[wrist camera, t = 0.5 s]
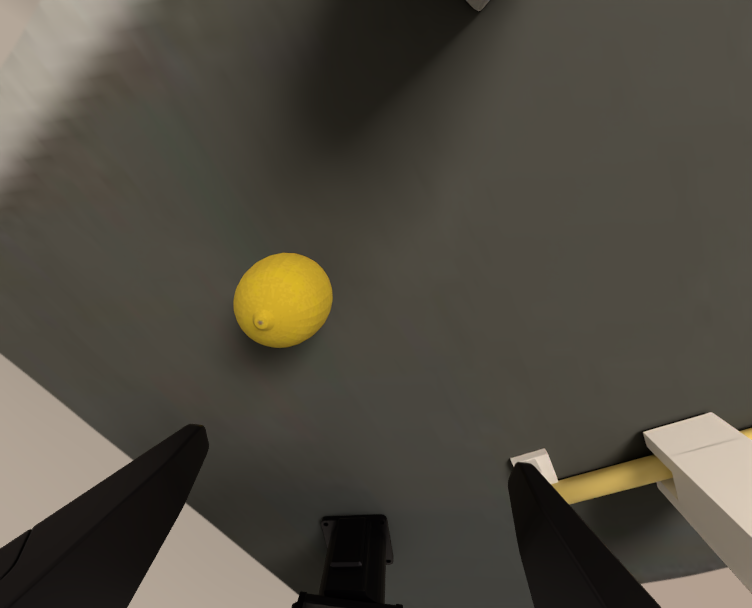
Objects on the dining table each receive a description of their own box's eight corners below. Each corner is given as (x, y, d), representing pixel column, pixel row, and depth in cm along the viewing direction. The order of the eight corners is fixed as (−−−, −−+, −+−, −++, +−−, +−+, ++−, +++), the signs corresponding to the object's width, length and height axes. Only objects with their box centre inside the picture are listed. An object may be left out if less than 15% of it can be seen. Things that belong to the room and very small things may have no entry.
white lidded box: (656, 488, 27) (787, 637, 18) (641, 431, 25) (778, 565, 16) (723, 471, 26) (899, 620, 17) (712, 410, 24) (902, 540, 15)
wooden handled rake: (537, 522, 30) (547, 545, 28) (510, 458, 27) (518, 477, 26) (869, 439, 25) (908, 460, 23) (869, 351, 22) (913, 366, 20)
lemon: (339, 243, 22) (309, 269, 15) (343, 316, 24) (318, 372, 17) (263, 244, 23) (196, 269, 15) (272, 316, 24) (217, 370, 17)
